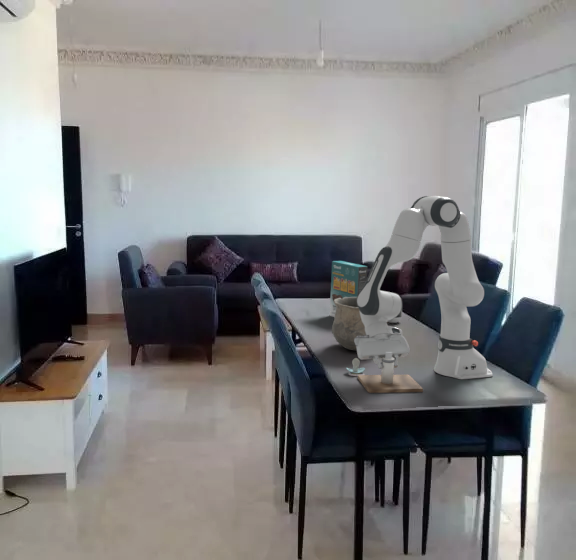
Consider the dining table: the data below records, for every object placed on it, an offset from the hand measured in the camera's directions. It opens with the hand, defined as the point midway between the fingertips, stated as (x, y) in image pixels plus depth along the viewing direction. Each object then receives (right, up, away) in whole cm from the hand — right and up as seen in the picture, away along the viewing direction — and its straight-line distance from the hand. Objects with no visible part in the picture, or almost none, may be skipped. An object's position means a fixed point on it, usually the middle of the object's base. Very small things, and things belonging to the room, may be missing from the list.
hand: (388, 367), depth 228 cm
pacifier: (-11, -5, +13) cm, 17 cm away
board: (+1, -7, +2) cm, 7 cm away
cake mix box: (-5, +11, +105) cm, 105 cm away
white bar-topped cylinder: (0, -5, +2) cm, 6 cm away
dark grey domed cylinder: (+18, +10, +102) cm, 104 cm away
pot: (-6, +1, +49) cm, 49 cm away
